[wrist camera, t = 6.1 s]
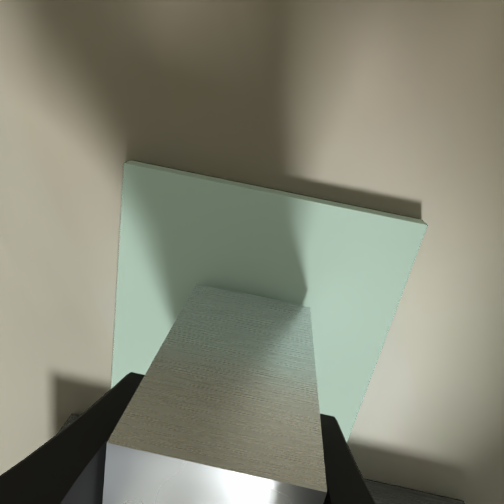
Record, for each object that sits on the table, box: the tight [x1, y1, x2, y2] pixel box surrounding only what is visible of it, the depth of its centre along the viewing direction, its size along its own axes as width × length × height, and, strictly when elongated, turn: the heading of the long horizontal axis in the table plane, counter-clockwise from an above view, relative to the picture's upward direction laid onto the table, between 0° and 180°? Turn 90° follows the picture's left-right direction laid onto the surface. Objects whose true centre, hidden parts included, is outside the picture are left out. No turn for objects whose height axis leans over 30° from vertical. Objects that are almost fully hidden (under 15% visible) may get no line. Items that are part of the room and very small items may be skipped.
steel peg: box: [102, 283, 327, 504], centre depth 11 cm, size 4×4×7 cm
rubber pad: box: [111, 161, 428, 442], centre depth 15 cm, size 10×10×1 cm
